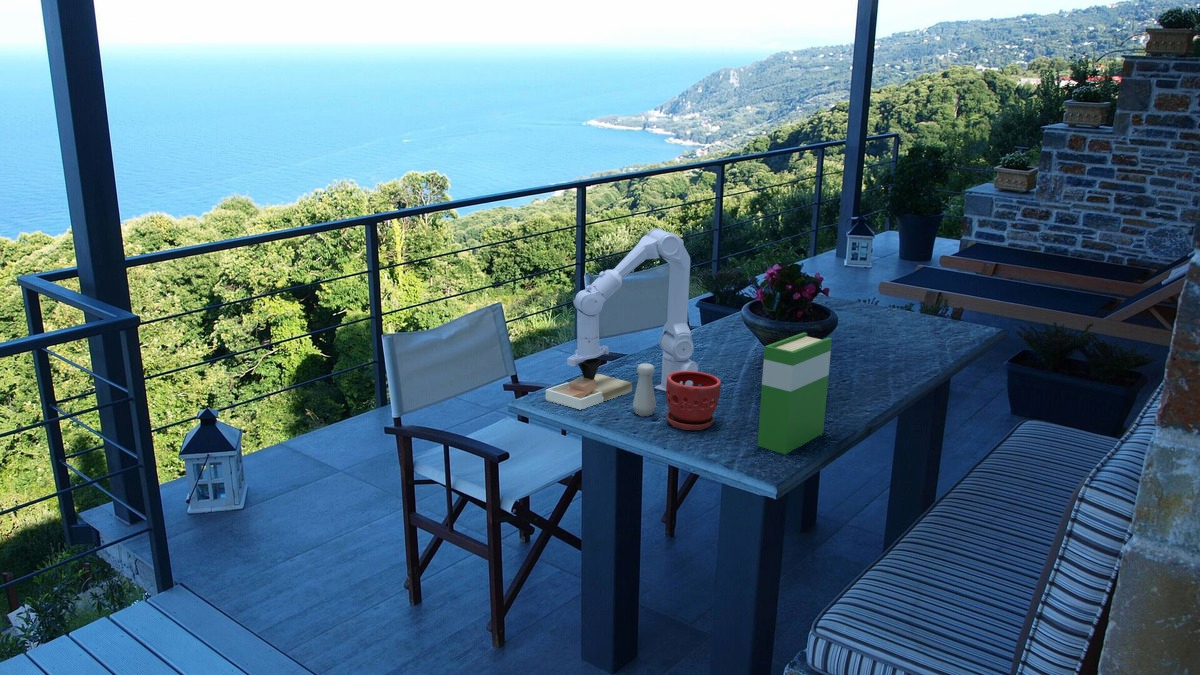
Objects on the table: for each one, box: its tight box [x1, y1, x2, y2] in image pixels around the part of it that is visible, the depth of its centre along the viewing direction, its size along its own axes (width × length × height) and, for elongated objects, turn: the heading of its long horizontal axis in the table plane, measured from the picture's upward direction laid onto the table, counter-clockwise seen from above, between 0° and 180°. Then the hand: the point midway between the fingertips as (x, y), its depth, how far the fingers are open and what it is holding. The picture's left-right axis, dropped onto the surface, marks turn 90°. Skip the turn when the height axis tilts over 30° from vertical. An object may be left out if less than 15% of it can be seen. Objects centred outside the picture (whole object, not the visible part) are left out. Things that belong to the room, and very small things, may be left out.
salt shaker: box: [632, 362, 657, 417], centre depth 235 cm, size 6×6×13 cm
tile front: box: [559, 388, 585, 399], centre depth 243 cm, size 5×5×2 cm
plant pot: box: [665, 371, 722, 431], centre depth 229 cm, size 13×13×12 cm
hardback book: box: [757, 332, 833, 455], centre depth 219 cm, size 18×7×24 cm, turn 139°
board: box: [590, 373, 633, 402], centre depth 252 cm, size 12×12×2 cm
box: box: [545, 382, 604, 410], centre depth 244 cm, size 12×9×3 cm
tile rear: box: [568, 375, 597, 395], centre depth 246 cm, size 5×5×2 cm
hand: (588, 385), depth 248 cm, fingers closed, pressing on tile rear
